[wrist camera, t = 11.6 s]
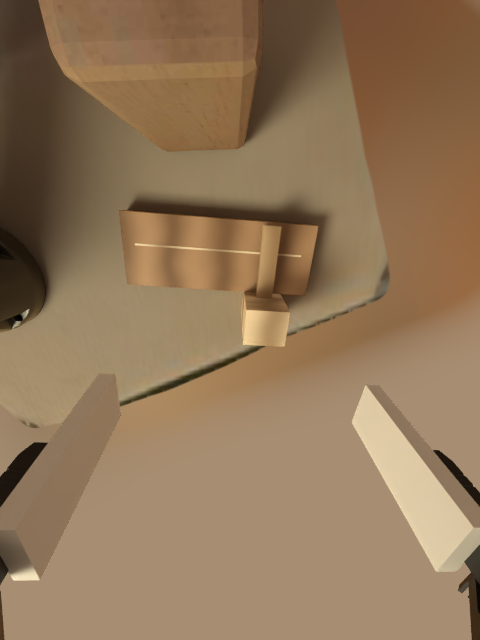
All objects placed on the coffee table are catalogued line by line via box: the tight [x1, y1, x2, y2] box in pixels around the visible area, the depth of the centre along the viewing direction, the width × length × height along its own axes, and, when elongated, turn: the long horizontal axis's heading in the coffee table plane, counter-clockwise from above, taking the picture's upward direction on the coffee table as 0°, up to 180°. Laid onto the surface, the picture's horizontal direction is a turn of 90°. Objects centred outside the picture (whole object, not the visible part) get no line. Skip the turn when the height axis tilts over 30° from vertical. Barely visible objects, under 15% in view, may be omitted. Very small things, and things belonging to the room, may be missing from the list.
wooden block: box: [38, 0, 263, 151], centre depth 19 cm, size 10×10×20 cm
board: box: [119, 210, 318, 296], centre depth 34 cm, size 24×9×2 cm, turn 86°
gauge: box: [241, 225, 290, 347], centre depth 32 cm, size 5×14×9 cm, turn 176°
